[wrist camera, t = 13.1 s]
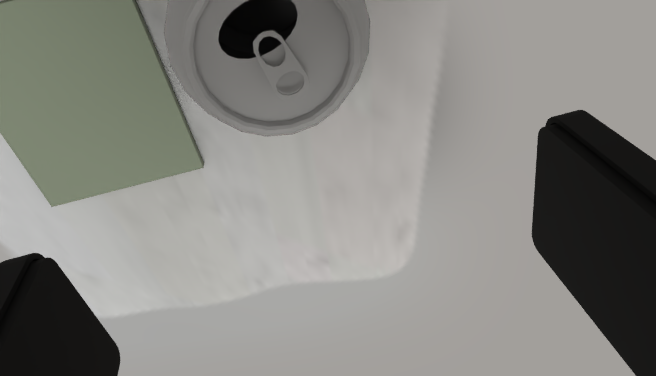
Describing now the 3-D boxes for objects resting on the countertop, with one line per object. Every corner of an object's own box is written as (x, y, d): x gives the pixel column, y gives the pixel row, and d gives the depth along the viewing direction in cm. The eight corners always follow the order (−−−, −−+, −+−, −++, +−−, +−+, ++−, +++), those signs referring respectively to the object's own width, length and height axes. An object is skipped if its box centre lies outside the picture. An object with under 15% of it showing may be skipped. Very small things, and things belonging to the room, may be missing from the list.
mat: (-70, 19, 25) (-76, 22, 24) (123, -29, 25) (120, -27, 24) (54, 201, 32) (51, 206, 31) (203, 162, 32) (203, 167, 31)
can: (281, -132, 23) (319, -118, 14) (348, 7, 28) (413, 92, 18) (154, -49, 24) (105, 18, 15) (237, 72, 29) (242, 185, 19)
